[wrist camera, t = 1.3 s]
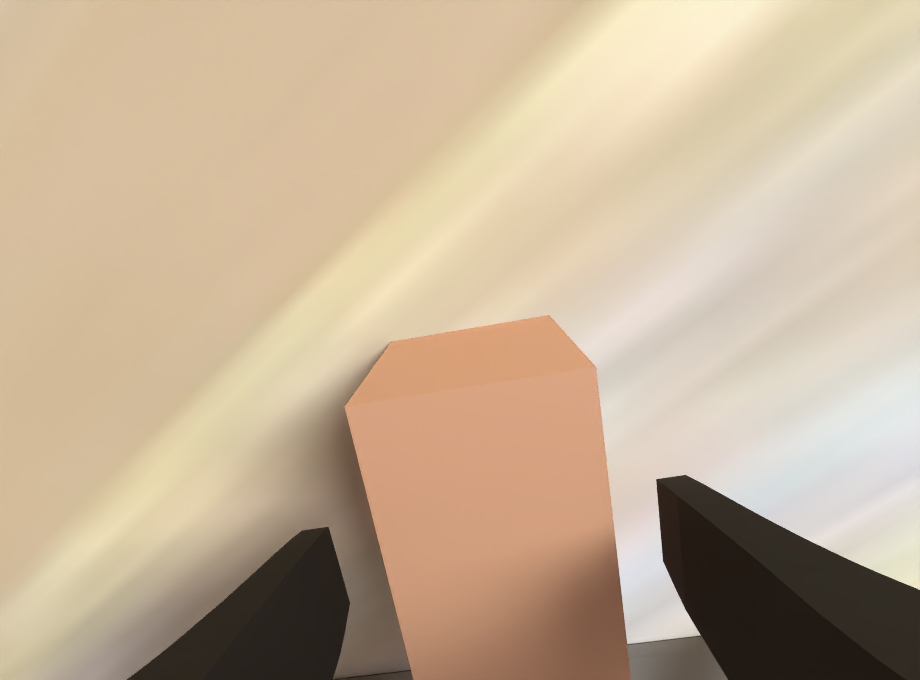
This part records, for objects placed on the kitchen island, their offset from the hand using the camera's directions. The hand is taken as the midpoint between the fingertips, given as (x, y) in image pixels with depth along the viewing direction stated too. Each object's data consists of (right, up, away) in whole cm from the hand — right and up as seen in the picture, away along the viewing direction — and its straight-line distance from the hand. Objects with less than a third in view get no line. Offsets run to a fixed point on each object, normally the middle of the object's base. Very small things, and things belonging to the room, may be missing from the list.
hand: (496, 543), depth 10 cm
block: (0, +1, +4) cm, 4 cm away
